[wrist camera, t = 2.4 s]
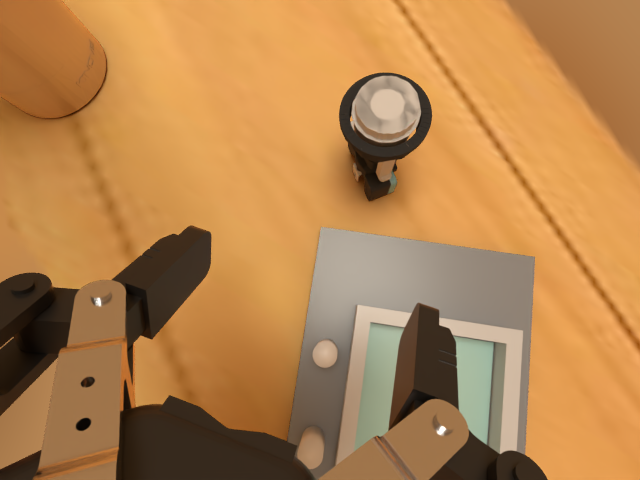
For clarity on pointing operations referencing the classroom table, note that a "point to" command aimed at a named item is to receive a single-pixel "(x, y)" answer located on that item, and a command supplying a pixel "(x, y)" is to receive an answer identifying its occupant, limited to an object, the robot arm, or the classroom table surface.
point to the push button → (383, 127)
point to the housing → (385, 332)
